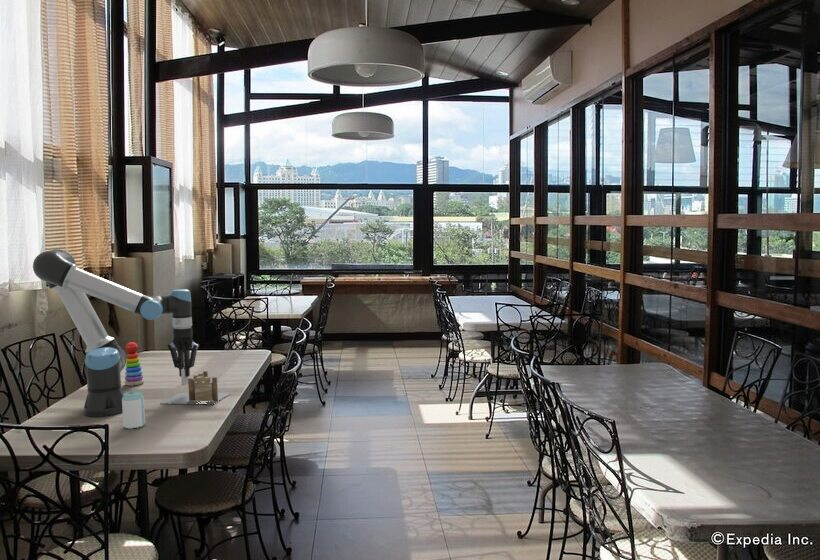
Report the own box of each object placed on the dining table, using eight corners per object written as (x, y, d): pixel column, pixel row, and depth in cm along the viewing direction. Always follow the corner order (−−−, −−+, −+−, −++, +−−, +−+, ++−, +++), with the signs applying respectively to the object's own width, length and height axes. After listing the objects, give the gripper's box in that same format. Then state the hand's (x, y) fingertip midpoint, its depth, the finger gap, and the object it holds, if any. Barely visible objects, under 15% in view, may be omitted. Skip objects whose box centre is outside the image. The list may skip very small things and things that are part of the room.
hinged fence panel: (192, 398, 268) (191, 375, 267) (205, 392, 277) (204, 370, 276) (196, 398, 268) (195, 376, 267) (209, 392, 276) (208, 371, 276)
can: (119, 429, 232) (117, 395, 231) (131, 423, 239) (129, 390, 238) (137, 430, 231) (135, 396, 230) (149, 423, 238) (147, 390, 237)
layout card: (212, 405, 260) (212, 403, 260) (160, 404, 263) (160, 402, 263) (230, 394, 276) (230, 393, 276) (180, 393, 279) (180, 392, 279)
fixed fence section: (216, 402, 264) (215, 378, 263) (188, 401, 266) (186, 377, 265) (219, 400, 266) (217, 376, 265) (191, 400, 268) (189, 376, 267)
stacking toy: (147, 381, 301) (145, 340, 299) (138, 386, 293) (136, 344, 291) (130, 381, 302) (128, 340, 300) (121, 386, 294) (118, 344, 292)
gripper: (162, 328, 270) (165, 386, 272) (193, 329, 268) (195, 387, 270) (172, 325, 277) (174, 381, 280) (201, 326, 275) (204, 382, 278)
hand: (185, 384), depth 275 cm, fingers closed
